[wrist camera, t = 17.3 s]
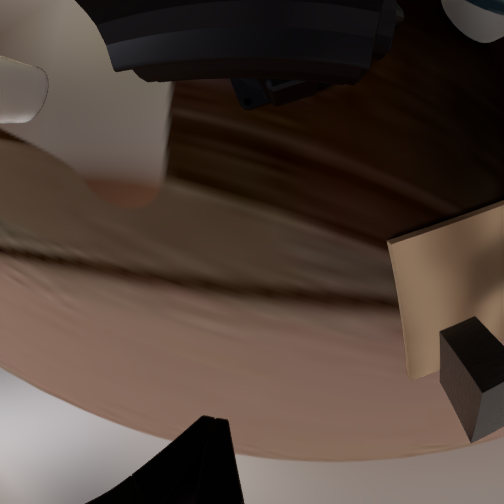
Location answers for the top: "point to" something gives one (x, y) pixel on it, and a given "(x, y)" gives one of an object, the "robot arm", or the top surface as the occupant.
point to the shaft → (473, 376)
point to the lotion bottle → (477, 18)
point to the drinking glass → (21, 91)
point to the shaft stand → (448, 281)
